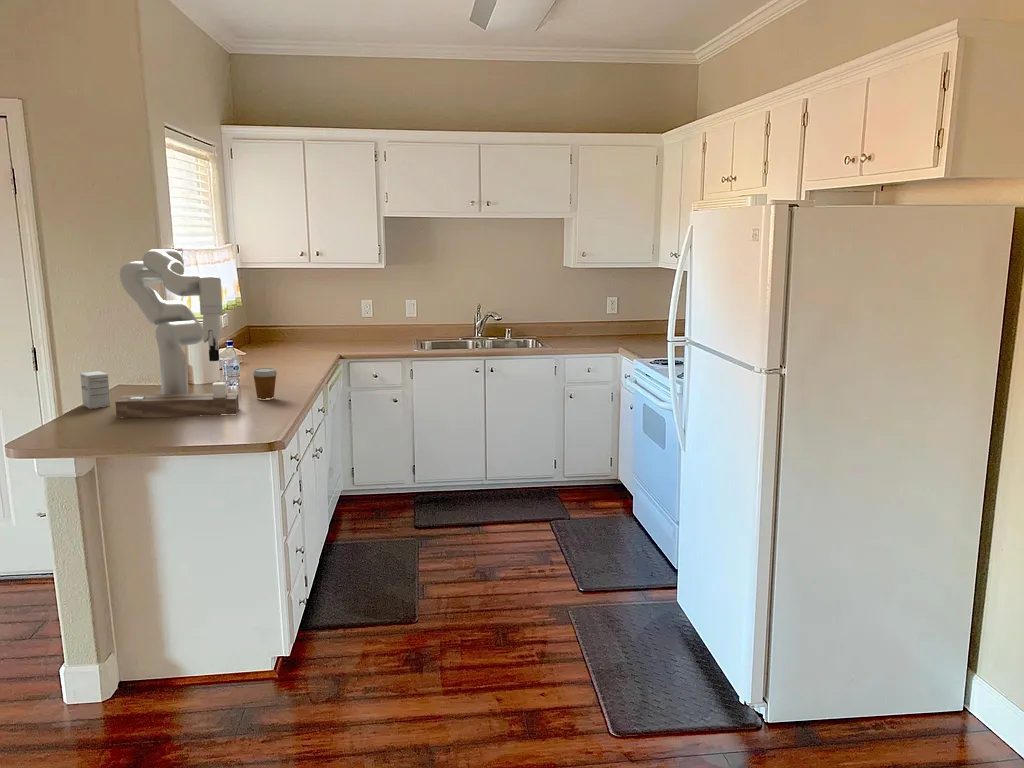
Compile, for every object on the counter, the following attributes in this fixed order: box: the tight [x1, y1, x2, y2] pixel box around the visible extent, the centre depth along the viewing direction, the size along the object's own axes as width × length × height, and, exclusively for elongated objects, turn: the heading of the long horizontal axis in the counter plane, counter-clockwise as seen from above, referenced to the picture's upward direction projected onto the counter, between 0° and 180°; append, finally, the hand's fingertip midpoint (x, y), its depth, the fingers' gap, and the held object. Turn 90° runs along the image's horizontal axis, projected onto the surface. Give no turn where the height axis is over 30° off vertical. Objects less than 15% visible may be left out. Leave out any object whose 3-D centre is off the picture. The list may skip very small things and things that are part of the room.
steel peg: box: [129, 397, 145, 400], centre depth 274 cm, size 4×4×6 cm
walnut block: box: [115, 392, 240, 419], centre depth 278 cm, size 11×40×6 cm, turn 105°
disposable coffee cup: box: [252, 367, 278, 399], centre depth 305 cm, size 10×10×12 cm
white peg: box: [211, 381, 227, 398], centre depth 280 cm, size 4×4×6 cm
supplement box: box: [80, 370, 111, 410], centre depth 284 cm, size 7×7×13 cm
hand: (214, 360), depth 277 cm, fingers closed
